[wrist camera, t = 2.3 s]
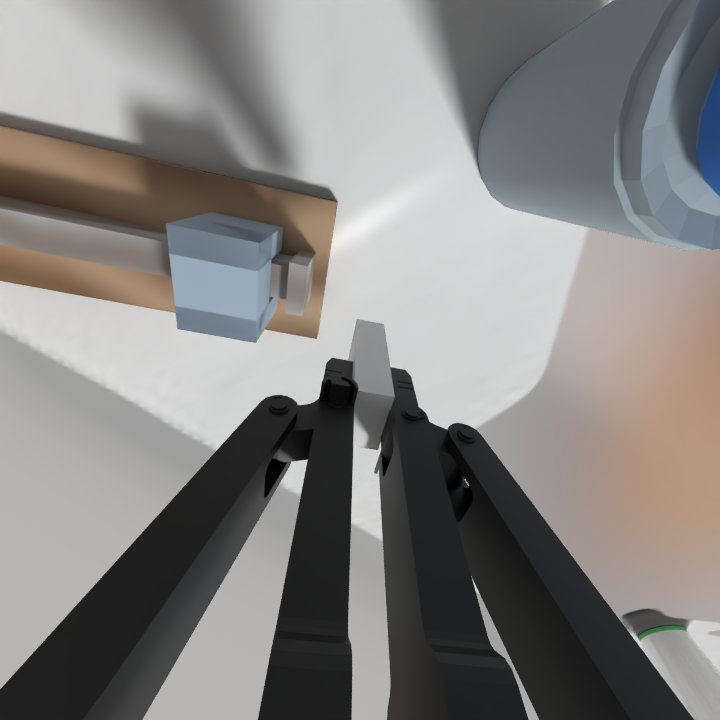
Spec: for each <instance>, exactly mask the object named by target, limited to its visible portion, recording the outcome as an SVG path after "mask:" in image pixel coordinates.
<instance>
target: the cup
mask: <svg viewBox="0 0 720 720" xmlns="http://www.w3.org/2000/svg"><path fill="white" fill-rule="evenodd" d="M639 640H640V642H641V644H642V646H643V648H644V650H645V652H646V654H647V656H648V658H649V660H650V661H651V663H652V664H653V665H654V667H655V668H656V669H657V671H658V672H659V673H660V675H661V676H662V677H663V679H664V680H665V681H666V683H667V684H668V685H669V687H670V688H671V689H672V691H673V692H674V693H675V695H676V696H677V697H678V699H679V700H680V701H681V703H682V704H683V705H684V707H685V708H686V709H687V711H688V712H689V713H690V715H691V716H692V717H693V719H694V720H720V672H719V671H718V670H717V669H716V667H715V666H714V665H713V664H712V662H711V661H710V660H709V659H708V658H707V656H706V655H705V654H704V653H703V651H702V650H701V649H700V648H699V646H698V645H697V644H696V643H695V642H694V640H693V639H692V638H691V636H690V635H689V633H688V632H687V631H686V629H685V628H683V627H680V626H661V627H656V628H652V629H649V630H647V631H645V632H643V633H642V634H640V636H639Z"/></svg>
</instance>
